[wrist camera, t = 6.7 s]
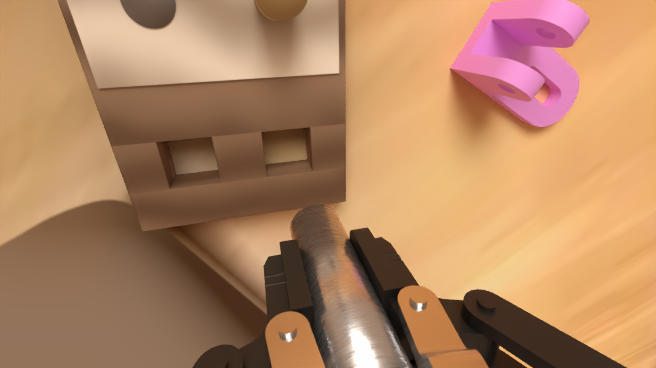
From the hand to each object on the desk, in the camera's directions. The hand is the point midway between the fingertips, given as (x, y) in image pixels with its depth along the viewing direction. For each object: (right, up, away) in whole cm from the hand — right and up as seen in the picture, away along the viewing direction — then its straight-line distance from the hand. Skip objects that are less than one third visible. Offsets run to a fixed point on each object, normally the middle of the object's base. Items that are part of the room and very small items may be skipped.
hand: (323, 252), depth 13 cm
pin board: (-7, +10, +10) cm, 16 cm away
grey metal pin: (0, +1, +2) cm, 2 cm away
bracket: (+17, +13, +15) cm, 26 cm away
